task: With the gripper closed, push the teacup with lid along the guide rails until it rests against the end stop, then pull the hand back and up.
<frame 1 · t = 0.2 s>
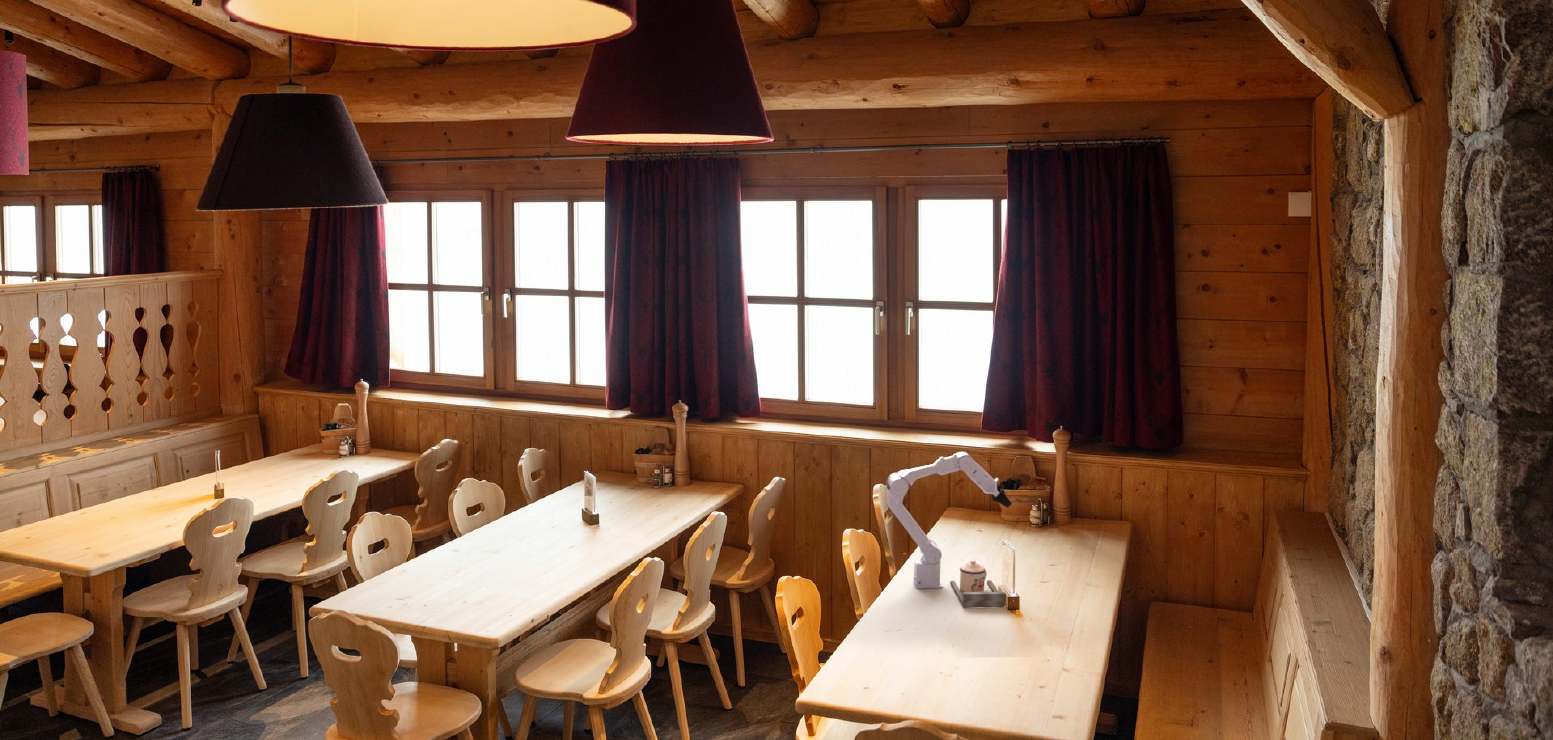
hand: (1007, 502, 431), 31 cm above the table, tool tilted 45°, fingers open, 7 cm apart
teacup with lid: (974, 591, 428), on the table
guide track: (976, 594, 424), on the table
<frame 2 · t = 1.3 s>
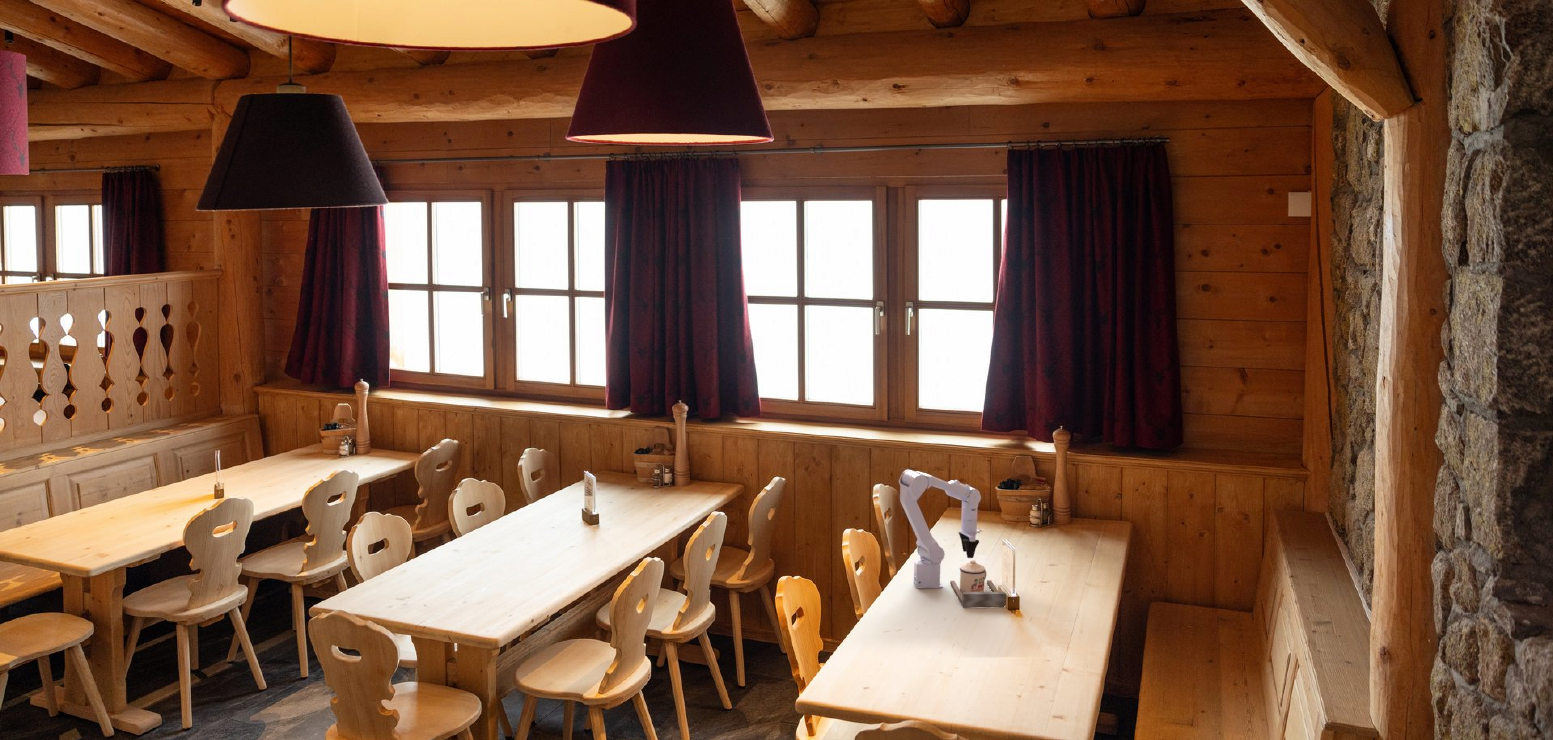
hand: (968, 554, 439), 9 cm above the table, tool pointing down, fingers open, 7 cm apart
nothing on the table moved.
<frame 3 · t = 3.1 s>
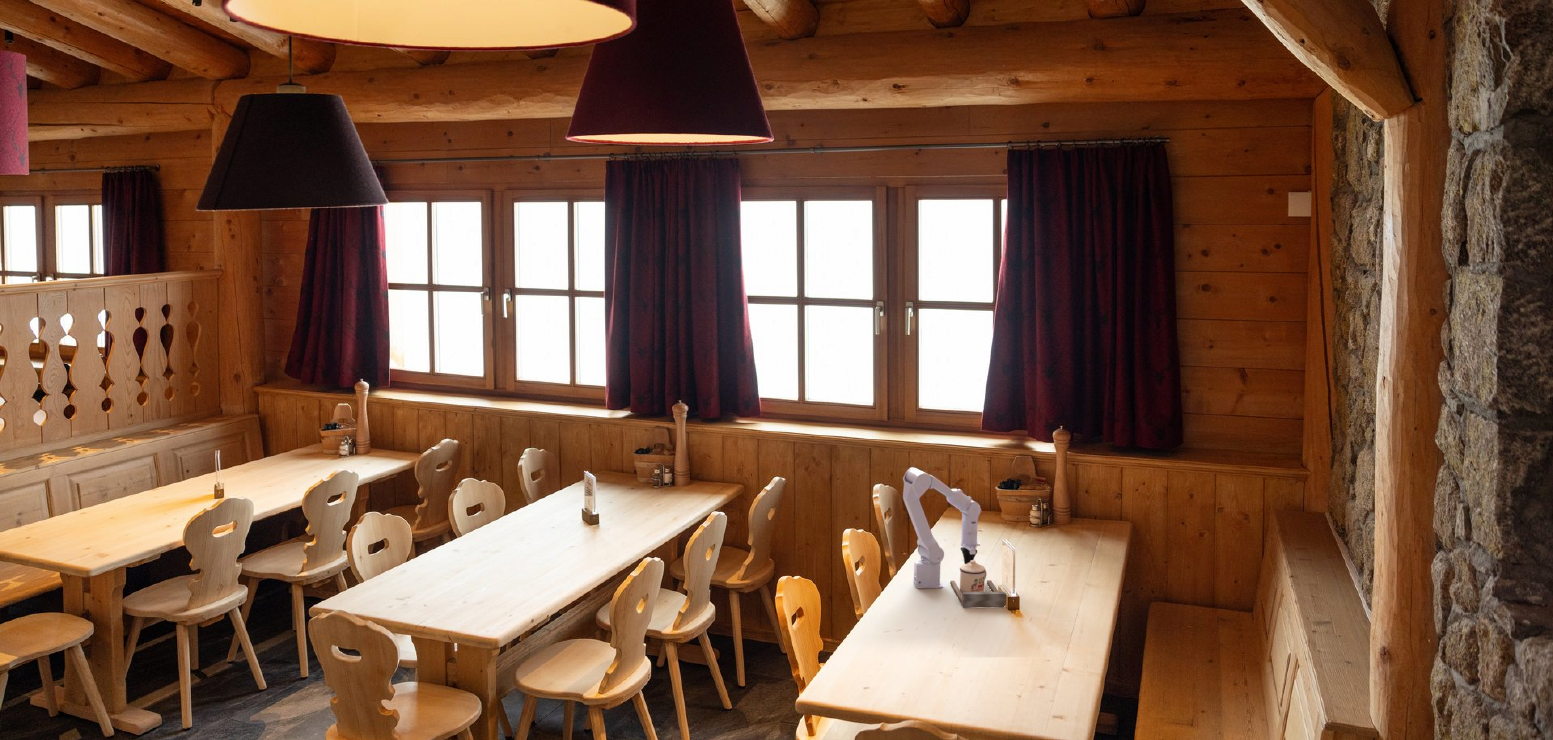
hand: (968, 567, 439), 5 cm above the table, tool pointing down, fingers closed
nothing on the table moved.
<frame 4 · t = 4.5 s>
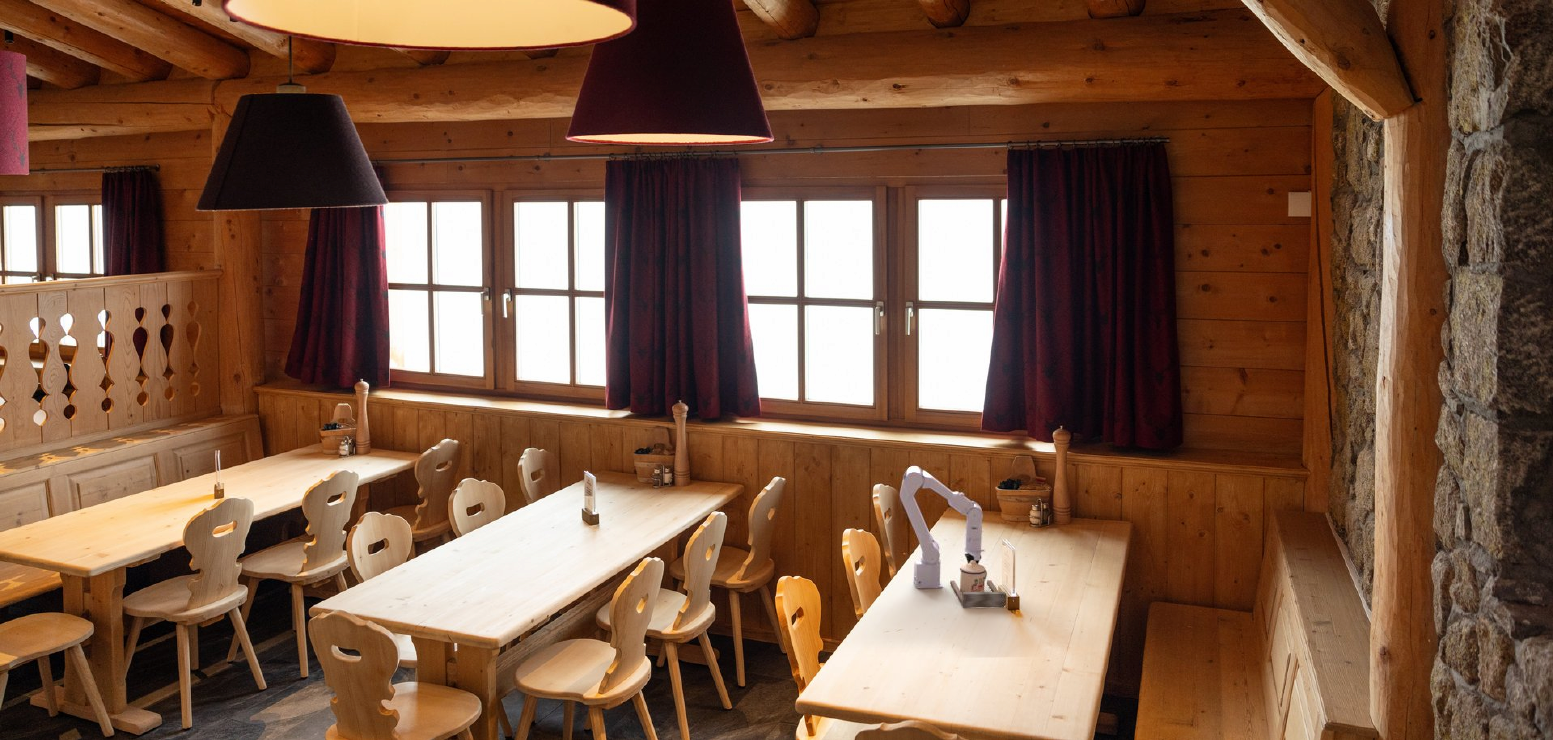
hand: (972, 573, 432), 5 cm above the table, tool pointing down, fingers closed
teacup with lid: (974, 591, 428), on the table, touching gripper
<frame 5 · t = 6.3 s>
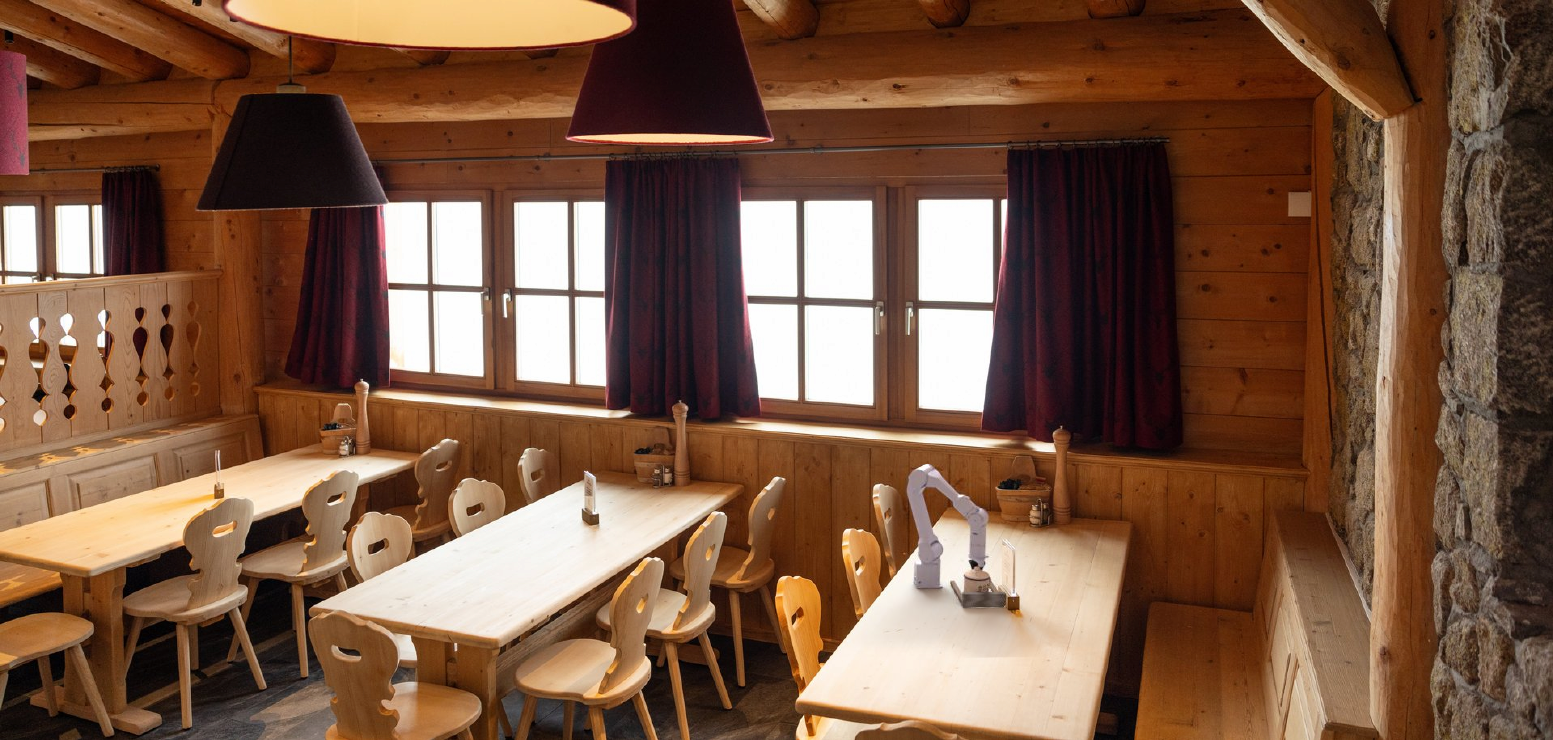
hand: (976, 579, 425), 5 cm above the table, tool pointing down, fingers closed
teacup with lid: (978, 598, 421), on the table, touching gripper
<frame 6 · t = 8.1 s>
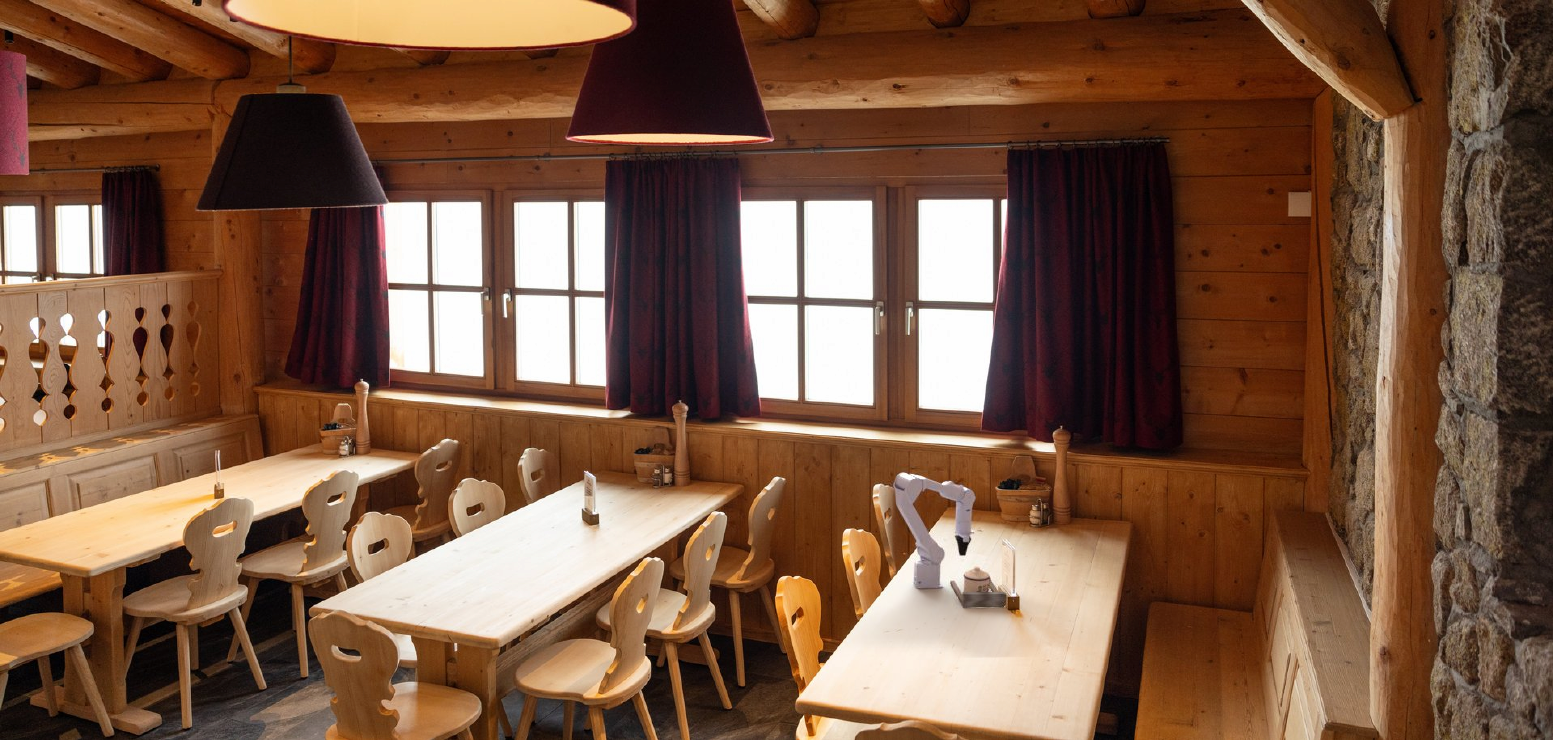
hand: (962, 555, 439), 9 cm above the table, tool pointing down, fingers closed
teacup with lid: (978, 598, 421), on the table
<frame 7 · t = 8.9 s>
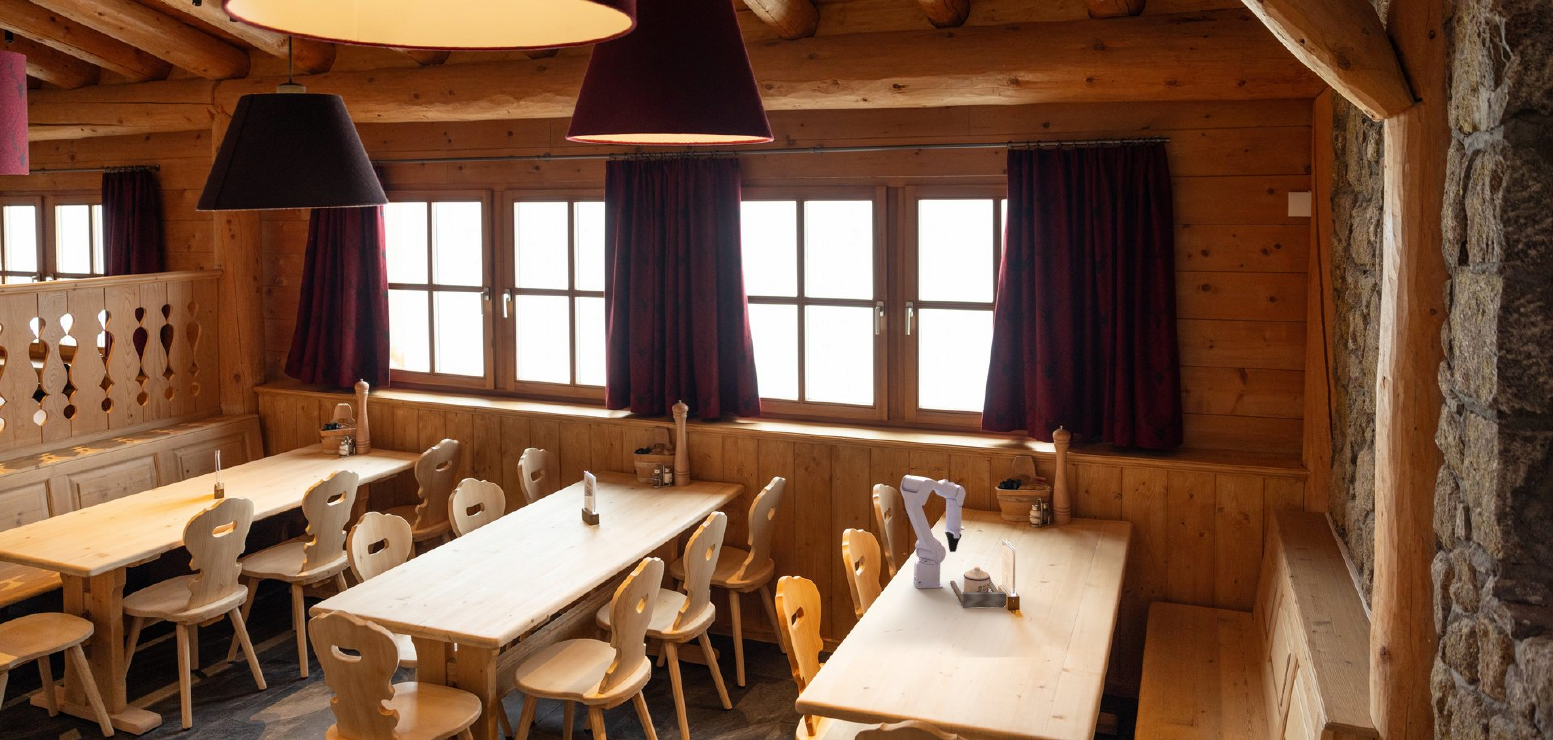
hand: (952, 551, 443), 9 cm above the table, tool pointing down, fingers closed
nothing on the table moved.
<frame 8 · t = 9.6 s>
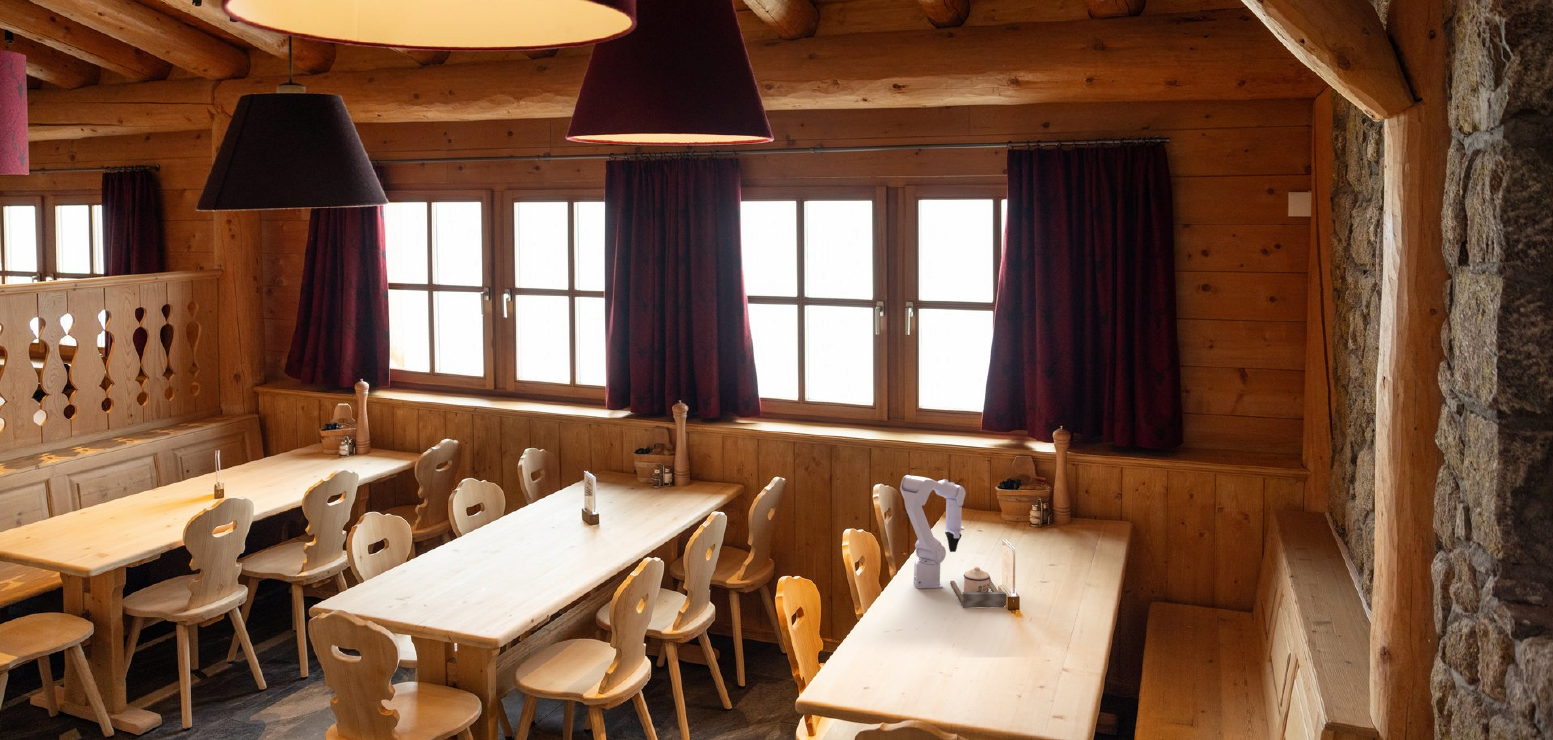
hand: (952, 551, 443), 9 cm above the table, tool pointing down, fingers closed
nothing on the table moved.
at the end: teacup with lid inside the target area (2.1 cm from its centre), on the table; teacup with lid tilted 0°; teacup with lid moved 7.2 cm from its start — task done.
